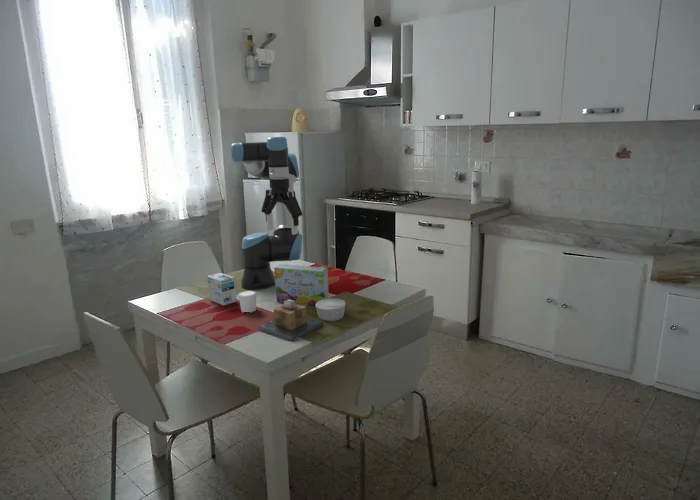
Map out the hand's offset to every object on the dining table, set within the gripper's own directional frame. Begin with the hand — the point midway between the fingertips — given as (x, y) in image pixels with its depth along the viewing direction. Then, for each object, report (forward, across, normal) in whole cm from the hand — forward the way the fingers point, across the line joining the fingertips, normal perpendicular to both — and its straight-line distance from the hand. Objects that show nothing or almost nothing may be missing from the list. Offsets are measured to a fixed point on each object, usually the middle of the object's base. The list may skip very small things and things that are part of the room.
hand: (282, 232), depth 189 cm
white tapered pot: (+29, -5, -16) cm, 33 cm away
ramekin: (+29, +26, -3) cm, 39 cm away
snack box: (+29, +7, +2) cm, 30 cm away
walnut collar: (+27, +21, -19) cm, 39 cm away
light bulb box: (+29, -22, -15) cm, 39 cm away
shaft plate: (+29, +21, -19) cm, 40 cm away
